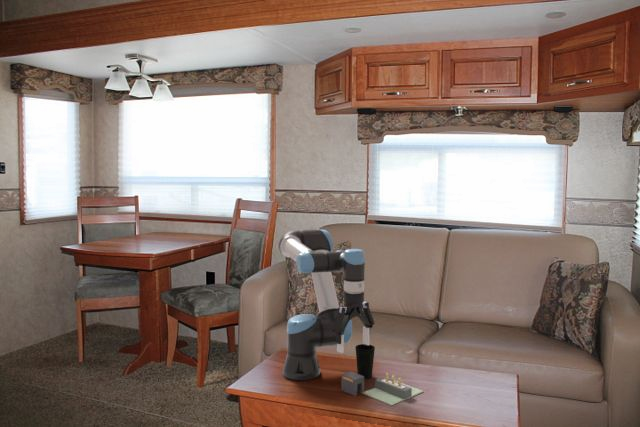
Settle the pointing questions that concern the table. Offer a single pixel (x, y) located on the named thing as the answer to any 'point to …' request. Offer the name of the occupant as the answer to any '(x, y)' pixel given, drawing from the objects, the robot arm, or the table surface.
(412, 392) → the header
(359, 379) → the plug block
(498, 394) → the table surface
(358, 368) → the cup
